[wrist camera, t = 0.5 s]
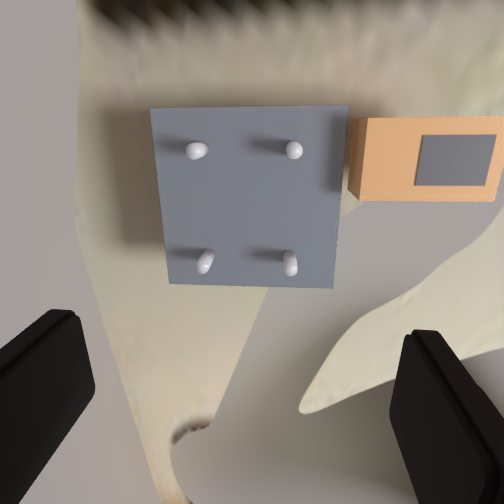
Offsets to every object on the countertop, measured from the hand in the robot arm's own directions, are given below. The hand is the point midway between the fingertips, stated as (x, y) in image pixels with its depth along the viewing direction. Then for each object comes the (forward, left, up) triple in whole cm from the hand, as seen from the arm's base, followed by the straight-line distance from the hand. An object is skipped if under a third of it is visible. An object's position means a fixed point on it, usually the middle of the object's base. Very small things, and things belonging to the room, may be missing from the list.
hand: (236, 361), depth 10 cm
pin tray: (+2, 0, -22) cm, 22 cm away
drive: (-12, -4, -24) cm, 27 cm away
